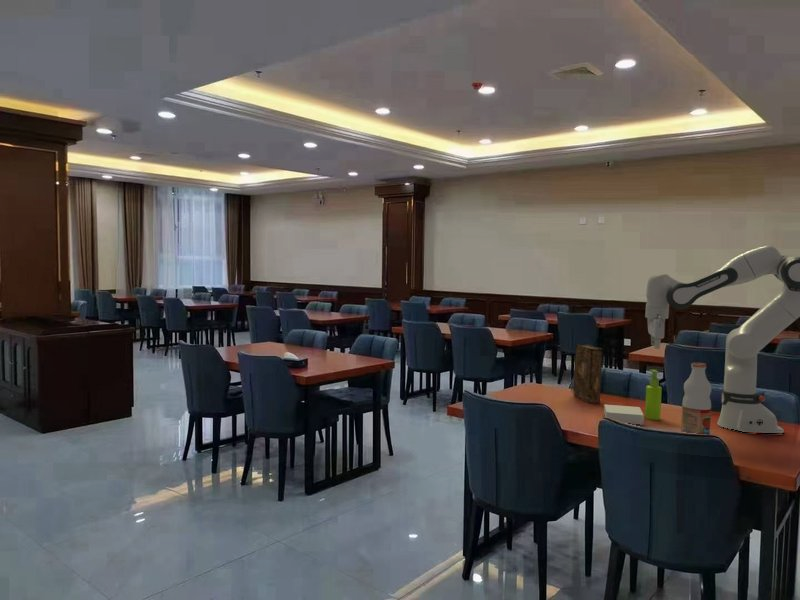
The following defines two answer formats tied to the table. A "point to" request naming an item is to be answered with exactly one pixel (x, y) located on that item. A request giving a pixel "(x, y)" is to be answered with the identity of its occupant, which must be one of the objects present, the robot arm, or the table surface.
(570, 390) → the table surface
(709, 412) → the fruit juice
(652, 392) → the soap dispenser
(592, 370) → the book
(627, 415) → the plinth
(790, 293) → the robot arm
